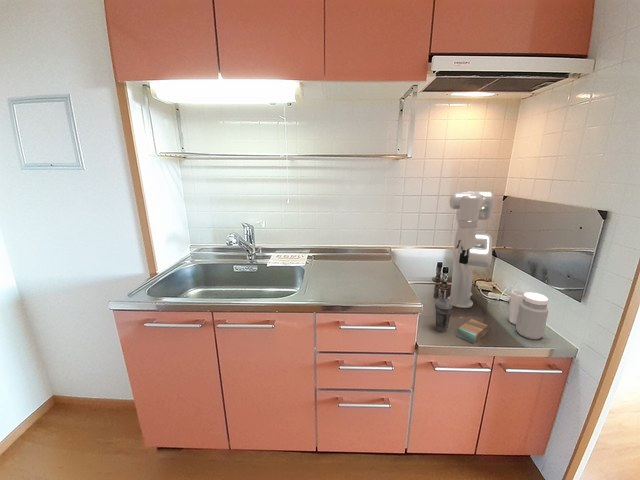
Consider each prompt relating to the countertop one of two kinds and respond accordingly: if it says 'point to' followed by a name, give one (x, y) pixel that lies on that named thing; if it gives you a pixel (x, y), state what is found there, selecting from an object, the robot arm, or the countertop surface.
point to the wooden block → (472, 330)
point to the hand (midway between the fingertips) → (463, 263)
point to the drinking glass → (515, 305)
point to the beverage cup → (443, 313)
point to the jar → (532, 315)
